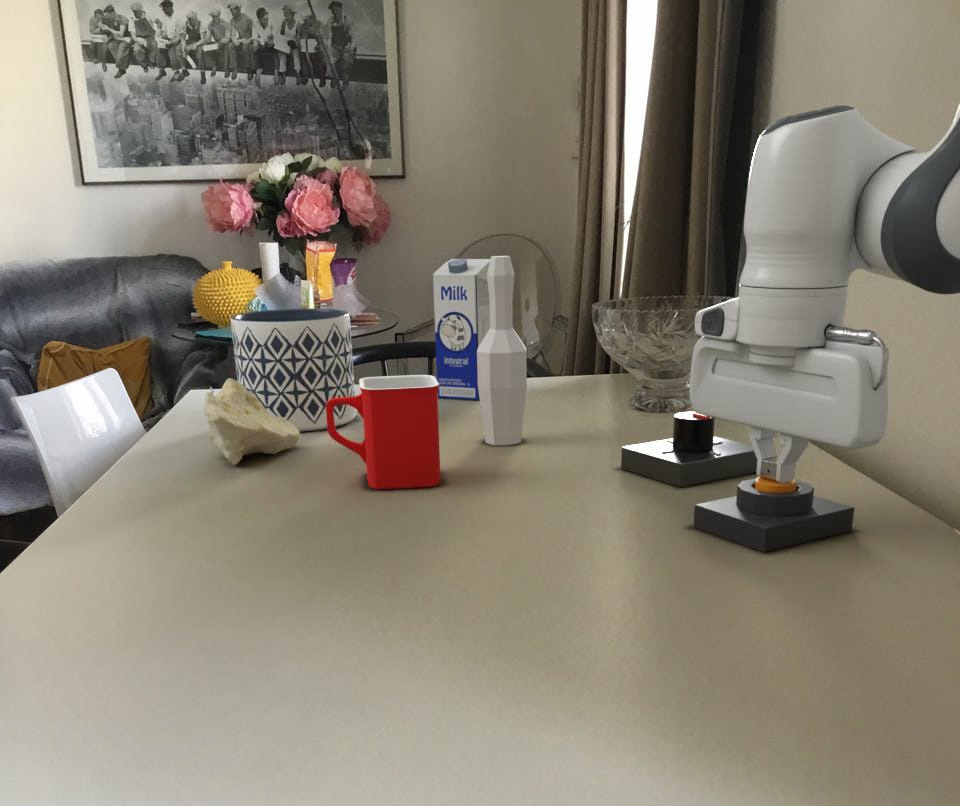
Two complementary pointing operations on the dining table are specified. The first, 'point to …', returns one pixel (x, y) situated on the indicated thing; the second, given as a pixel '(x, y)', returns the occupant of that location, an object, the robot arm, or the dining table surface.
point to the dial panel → (689, 461)
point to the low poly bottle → (502, 361)
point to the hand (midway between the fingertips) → (774, 479)
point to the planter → (296, 363)
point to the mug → (395, 430)
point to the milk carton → (460, 324)
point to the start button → (775, 486)
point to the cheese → (245, 424)
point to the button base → (773, 517)
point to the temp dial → (693, 432)
